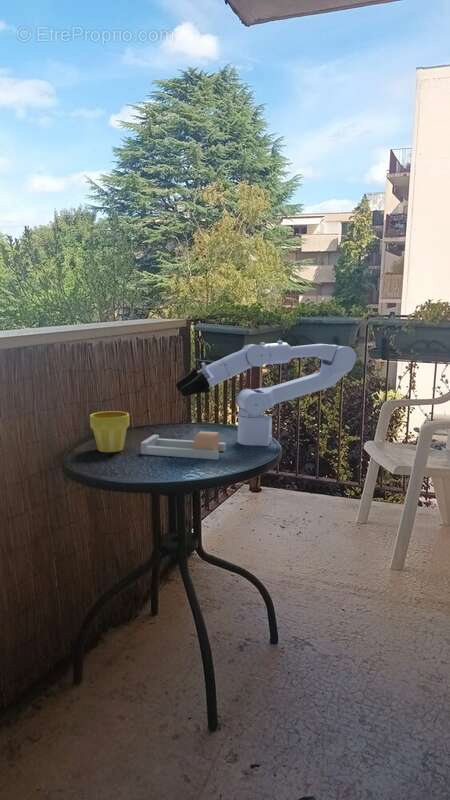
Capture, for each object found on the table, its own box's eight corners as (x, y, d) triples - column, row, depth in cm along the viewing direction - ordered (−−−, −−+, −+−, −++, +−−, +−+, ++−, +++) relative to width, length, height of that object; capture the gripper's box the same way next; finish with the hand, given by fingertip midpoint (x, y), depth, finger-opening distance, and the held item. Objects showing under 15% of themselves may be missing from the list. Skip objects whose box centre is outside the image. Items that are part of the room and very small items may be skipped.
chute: (227, 451, 143) (227, 437, 143) (215, 466, 130) (215, 450, 129) (156, 446, 147) (156, 432, 147) (137, 460, 134) (137, 444, 133)
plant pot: (88, 446, 147) (87, 411, 145) (125, 443, 151) (125, 409, 149) (93, 456, 137) (92, 418, 136) (133, 452, 141) (132, 416, 139)
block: (218, 451, 140) (218, 432, 139) (213, 457, 134) (213, 437, 133) (200, 449, 141) (200, 431, 140) (194, 455, 135) (194, 436, 134)
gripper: (212, 352, 150) (169, 372, 149) (225, 359, 137) (177, 381, 135) (222, 374, 152) (179, 395, 151) (235, 383, 139) (188, 405, 137)
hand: (179, 390), depth 143 cm, fingers open, 7 cm apart
